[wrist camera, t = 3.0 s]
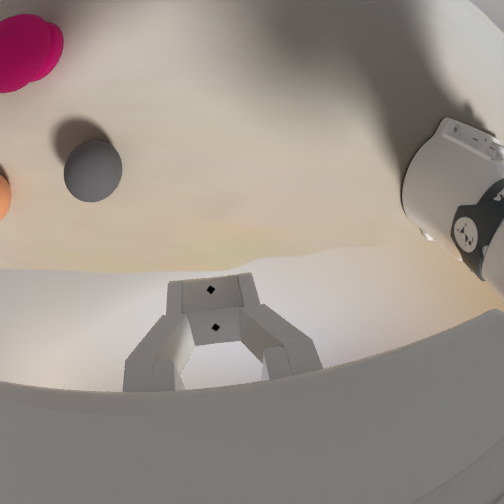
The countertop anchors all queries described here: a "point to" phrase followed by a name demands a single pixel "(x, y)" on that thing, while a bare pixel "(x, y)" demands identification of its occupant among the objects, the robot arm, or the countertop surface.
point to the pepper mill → (27, 50)
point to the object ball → (4, 197)
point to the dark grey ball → (93, 171)
